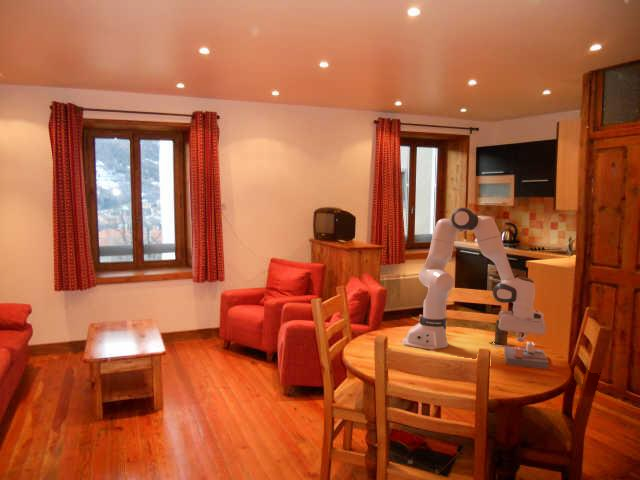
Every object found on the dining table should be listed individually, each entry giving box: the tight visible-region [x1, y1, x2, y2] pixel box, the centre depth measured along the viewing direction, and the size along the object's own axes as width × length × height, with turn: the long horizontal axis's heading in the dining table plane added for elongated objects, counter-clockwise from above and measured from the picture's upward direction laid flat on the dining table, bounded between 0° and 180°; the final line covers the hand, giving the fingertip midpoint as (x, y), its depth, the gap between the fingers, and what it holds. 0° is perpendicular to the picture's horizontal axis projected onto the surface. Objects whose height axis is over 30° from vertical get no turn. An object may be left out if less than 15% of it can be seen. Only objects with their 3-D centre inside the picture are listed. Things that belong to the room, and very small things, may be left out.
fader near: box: [514, 345, 523, 358], centre depth 221 cm, size 3×5×4 cm, turn 163°
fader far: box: [525, 341, 536, 353], centre depth 228 cm, size 3×5×4 cm, turn 163°
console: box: [503, 345, 549, 370], centre depth 225 cm, size 17×18×3 cm
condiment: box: [488, 319, 511, 348], centre depth 250 cm, size 7×8×12 cm
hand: (520, 341), depth 228 cm, fingers closed
